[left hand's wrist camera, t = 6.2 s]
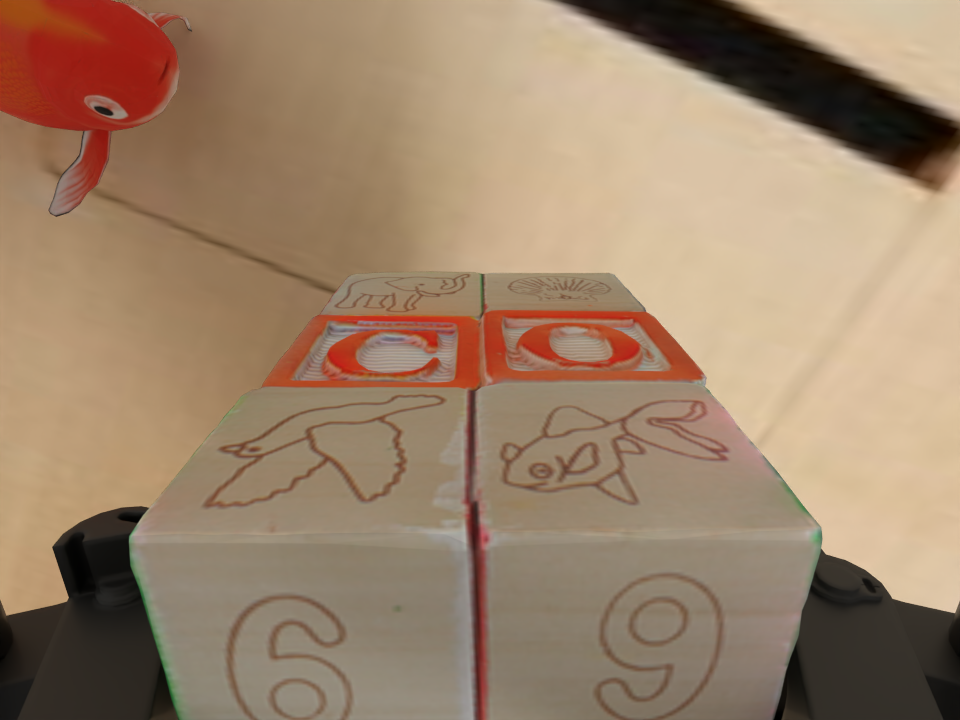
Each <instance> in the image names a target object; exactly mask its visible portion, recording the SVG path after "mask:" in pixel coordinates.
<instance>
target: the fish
mask: <svg viewBox="0 0 960 720" xmlns="http://www.w3.org/2000/svg"><path fill="white" fill-rule="evenodd" d="M177 18H180V19H182V20H183V21H184V23H185V24H186V26H187V28H188V30H189V31H192V30H191V27H190V24H189V22H188V19H187V18H186V17H182V16H178V15H172V14H167V13H148V14H147V13H146V12H144V11H143V10H142V9H140V8H138V7H137V6H134V5H131V4H127V3H120V2H115V1H111V0H0V110H1V111H3V112H5V113H8V114H10V115H12V116H15V117H17V118H19V119H22V120H25V121H27V122H31V123H34V124H38V125H42V126H46V127H53V128H60V129H68V130H76V131H84V132H83V136H82V143H81V150H80V154H79V156H78V157H77V159H76V160H75V161H74V162H73V164H72V165H71V166H70V167H69V168H68V169H67V170H66V171H65V172H64V173H63V174H62V176H61V178H60V180H59V182H58V184H57V188H56V191H55V195H54V198H53V201H52V203H51V206H50V208H49V212H50V214H52V215H54V216H56V217H57V216H60V215H63V214H66V213H69V212H70V211H71V210H73V209H74V208H75V207H77V206H78V205H79V204H80V203H81V202H82V200H83V199H84V197H85V196H86V194H87V193H88V192H89V191H90V190H91V189H93V188H94V187H95V186H96V185H98V183H99V181H100V179H101V176H102V174H103V172H104V169H105V167H106V165H107V162H108V160H109V151H110V140H111V131H115V130H121V129H127V128H133V127H135V126H139V125H141V124H143V123H146V122H148V121H150V120H152V119H153V118H155V117H156V116H158V115H159V114H160V113H162V112H163V111H164V109H165V108H166V106H167V105H168V103H169V102H170V100H171V99H172V97H173V96H174V94H175V92H176V91H177V85H178V80H179V74H180V69H179V64H178V59H177V54H176V49H175V48H174V46H173V45H172V43H171V42H170V40H169V39H168V37H167V36H166V35H165V34H164V32H163V31H162V30H161V29H162V28H163V27H165V26H166V25H167V24H168V23H169V22H171V21H172V20H174V19H177Z"/></svg>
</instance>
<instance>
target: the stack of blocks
mask: <svg viewBox="0 0 960 720" xmlns="http://www.w3.org/2000/svg"><path fill="white" fill-rule="evenodd" d="M705 384H706V376H705V375H704V373H703V372H702V371H701V369H700V368H699V367H698V366H697V364H696V363H695V362H694V361H693V360H692V359H691V358H690V356H689V355H688V354H687V353H686V352H685V351H684V350H683V348H682V347H681V346H680V345H679V344H678V343H677V341H676V340H675V339H674V338H673V337H672V336H671V335H670V334H669V333H668V332H667V331H666V330H665V328H664V327H663V326H662V325H661V324H660V323H659V322H658V321H657V319H656V318H655V317H654V316H652V315H650V314H649V313H647V312H646V310H645V308H644V307H643V305H642V304H641V303H640V302H639V301H638V300H637V299H636V298H635V297H634V296H633V295H632V294H631V293H630V291H629V290H628V289H627V288H625V287H624V285H623V284H622V283H621V282H620V281H619V280H618V279H617V277H616V276H615V275H613V274H610V273H489V274H480V273H475V272H381V273H365V274H354V275H351V276H349V277H348V278H347V279H346V280H345V281H344V282H343V283H342V284H341V286H340V287H339V288H338V289H337V290H336V292H335V293H334V294H333V296H332V297H331V299H330V300H329V302H328V303H327V305H325V307H324V309H323V311H322V312H321V313H320V315H318V316H315V317H313V318H312V319H311V320H310V321H309V323H308V324H307V326H306V327H305V329H304V330H303V331H302V332H301V333H300V335H299V336H298V337H297V339H296V340H295V342H294V343H293V344H292V346H291V347H290V348H289V349H288V350H287V352H286V353H285V354H284V355H283V356H282V358H281V359H280V360H279V361H278V363H277V364H276V365H275V367H274V368H273V370H272V371H271V373H270V374H269V376H268V377H267V378H266V380H265V381H264V383H263V385H262V388H261V389H255V390H252V391H250V392H248V393H246V394H244V395H242V396H241V397H240V399H239V400H238V402H237V403H236V404H235V406H234V407H233V408H232V409H231V410H230V411H229V412H228V413H227V414H226V415H225V416H224V418H223V419H222V421H221V422H220V424H219V425H218V427H217V428H216V429H215V430H214V431H213V432H212V433H211V434H210V435H209V436H208V437H207V438H206V440H205V441H204V442H203V443H202V445H201V446H200V447H199V448H198V449H197V450H196V452H195V453H194V454H193V456H192V457H191V458H190V460H189V461H188V462H187V463H186V465H185V466H184V467H183V468H182V470H181V471H180V472H179V473H178V474H177V476H176V477H175V478H174V479H173V481H172V482H171V483H170V484H169V486H168V487H167V488H166V489H165V490H164V491H163V493H162V494H161V495H160V496H159V497H158V498H157V500H156V501H155V502H154V503H153V504H152V506H151V507H150V508H149V509H148V510H147V511H146V513H145V514H144V515H143V516H142V518H141V519H140V521H139V522H138V524H137V525H136V527H135V528H134V530H133V531H132V533H131V534H130V536H129V551H130V566H131V569H132V571H133V574H134V576H135V579H136V581H137V584H138V587H139V589H140V593H141V596H142V599H143V603H144V606H145V610H146V613H147V616H148V620H149V623H150V626H151V630H152V633H153V636H154V639H155V643H156V646H157V649H158V652H159V656H160V659H161V662H162V665H163V668H164V672H165V675H166V679H167V683H168V687H169V691H170V695H171V699H172V702H173V705H174V708H175V711H176V714H177V717H178V720H774V717H775V713H776V710H777V706H778V703H779V700H780V696H781V692H782V687H783V683H784V678H785V674H786V670H787V667H788V664H789V661H790V657H791V655H792V652H793V649H794V647H795V644H796V641H797V639H798V636H799V629H800V621H801V614H802V609H803V607H804V605H805V602H806V600H807V597H808V593H809V590H810V586H811V582H812V579H813V575H814V572H815V569H816V565H817V562H818V559H819V555H820V552H821V545H822V530H821V526H820V525H819V524H818V523H817V522H816V520H815V519H814V518H813V517H812V516H811V515H810V513H809V512H808V511H807V510H806V509H805V507H804V506H803V505H802V503H801V502H800V501H799V499H798V498H797V497H796V496H795V494H794V493H793V492H792V490H791V489H790V488H789V486H788V485H787V484H786V482H785V481H784V480H783V479H782V477H781V476H780V475H779V473H778V472H777V471H776V470H775V468H774V467H773V466H772V465H771V464H770V463H769V461H768V460H767V459H766V458H765V457H764V456H763V454H762V453H761V452H760V451H759V450H758V449H757V447H756V446H755V445H754V444H753V443H752V442H751V441H750V439H749V438H748V437H747V436H746V435H745V434H744V433H743V431H742V430H741V429H740V428H739V427H738V425H737V424H736V423H735V421H734V420H733V418H732V417H731V416H730V414H729V413H728V412H727V410H726V409H725V408H724V407H723V406H722V405H721V404H720V403H719V402H718V401H717V400H716V399H715V398H714V397H713V396H712V394H711V393H710V391H709V390H708V389H707V388H706V387H705Z"/></svg>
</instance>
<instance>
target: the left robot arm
mask: <svg viewBox="0 0 960 720" xmlns="http://www.w3.org/2000/svg"><path fill="white" fill-rule="evenodd" d="M148 509H149V508H147V507H142V506H139V507H125V508H119V509H115V510H111V511H107V512H103V513H100V514H98V515H95V516H93V517H91V518H89V519H86V520H84V521H82V522H80V523H78V524H77V525H75V526H74V527H73V528H71V529H70V530H68V531H67V532H65V533H64V534H63V535H62V536H61V537H60V538H59V539H58V541H57V542H56V543H55V544H54V546H53V547H52V548H53V551H54V554H55V557H56V560H57V563H58V566H59V569H60V572H61V575H62V578H63V581H64V584H65V587H66V590H67V593H68V596H69V599H68V601H67V602H64V603H61V604H57V605H53V606H49V607H44V608H40V609H35V610H31V611H26V612H22V613H17V614H12V615H8V616H6V614H5V611H4V608H3V606H2V603H1V601H0V720H178V717H177V714H176V711H175V708H174V705H173V702H172V699H171V695H170V691H169V687H168V683H167V679H166V675H165V672H164V668H163V665H162V662H161V659H160V656H159V652H158V649H157V646H156V643H155V639H154V636H153V633H152V630H151V626H150V623H149V620H148V616H147V613H146V610H145V606H144V603H143V599H142V596H141V593H140V589H139V587H138V584H137V581H136V579H135V576H134V574H133V571H132V569H131V566H130V551H129V536H130V534H131V533H132V531H133V530H134V528H135V527H136V525H137V524H138V522H139V521H140V519H141V518H142V516H143V515H144V514H145V513H146V511H147V510H148ZM774 720H960V602H959V605H958V607H957V610H956V613H950V612H946V611H941V610H937V609H932V608H928V607H923V606H919V605H914V604H910V603H905V602H901V601H898V600H894V599H892V597H891V596H890V594H889V593H888V591H887V590H886V589H885V587H884V586H883V584H882V583H881V582H880V581H878V580H877V579H876V578H875V577H873V576H872V575H871V574H870V573H868V572H867V571H866V570H864V569H862V568H860V567H858V566H856V565H854V564H852V563H850V562H848V561H846V560H843V559H839V558H836V557H833V556H829V555H826V554H825V553H824V552H823V550H822V549H821V552H820V555H819V559H818V562H817V565H816V569H815V572H814V575H813V579H812V582H811V586H810V590H809V593H808V597H807V600H806V602H805V605H804V607H803V609H802V614H801V621H800V629H799V636H798V639H797V641H796V644H795V647H794V649H793V652H792V655H791V657H790V661H789V664H788V667H787V670H786V674H785V678H784V683H783V687H782V692H781V696H780V700H779V703H778V706H777V710H776V713H775V717H774Z"/></svg>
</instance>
